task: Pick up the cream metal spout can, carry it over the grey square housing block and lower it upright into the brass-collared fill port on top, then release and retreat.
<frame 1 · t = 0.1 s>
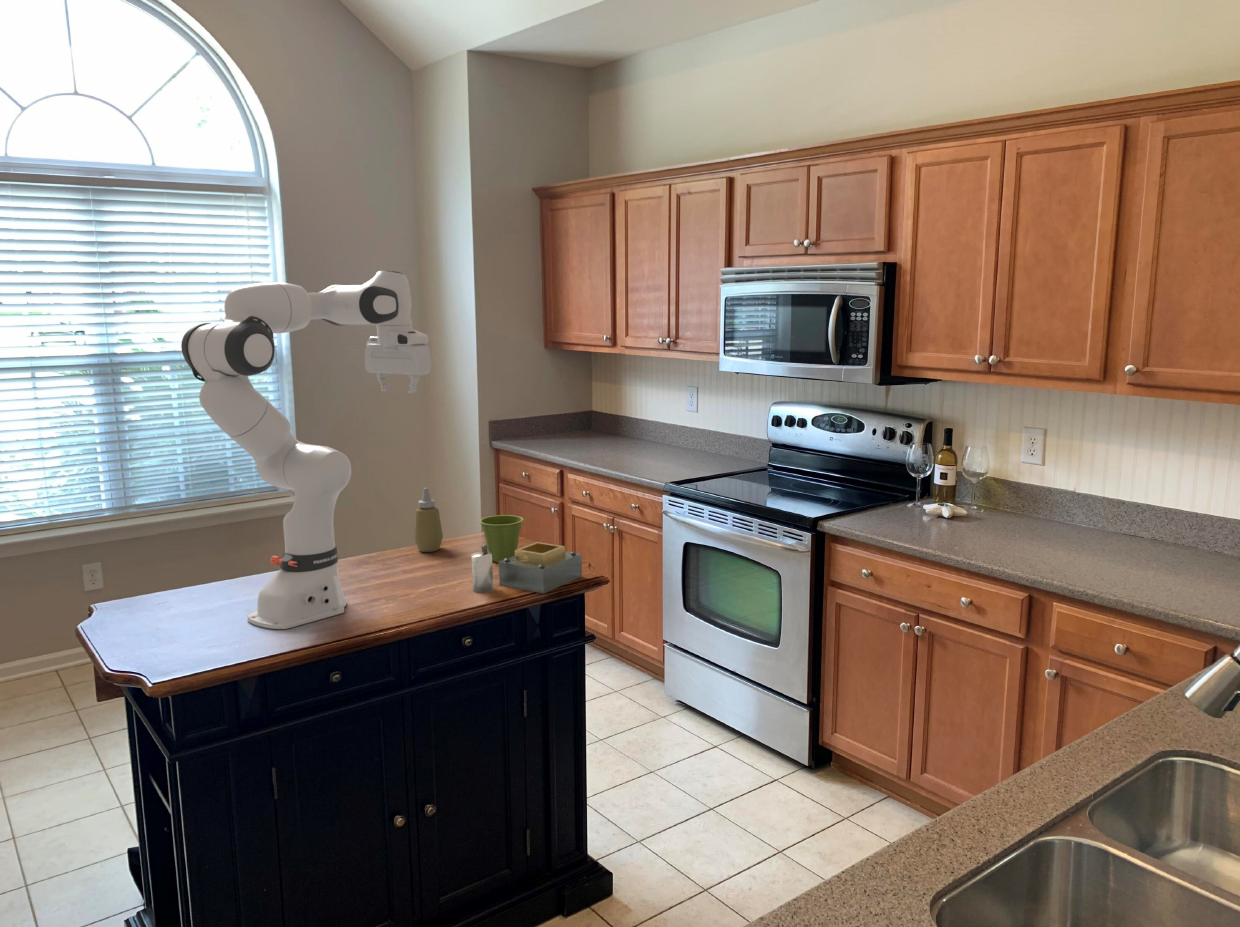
hand: (398, 391, 241), 48 cm above the countertop, fingers open, 8 cm apart
spout can: (483, 589, 235), on the countertop
grey square housing block: (541, 580, 241), on the countertop
squeeze bottle: (429, 550, 272), on the countertop
plant pot: (503, 560, 261), on the countertop
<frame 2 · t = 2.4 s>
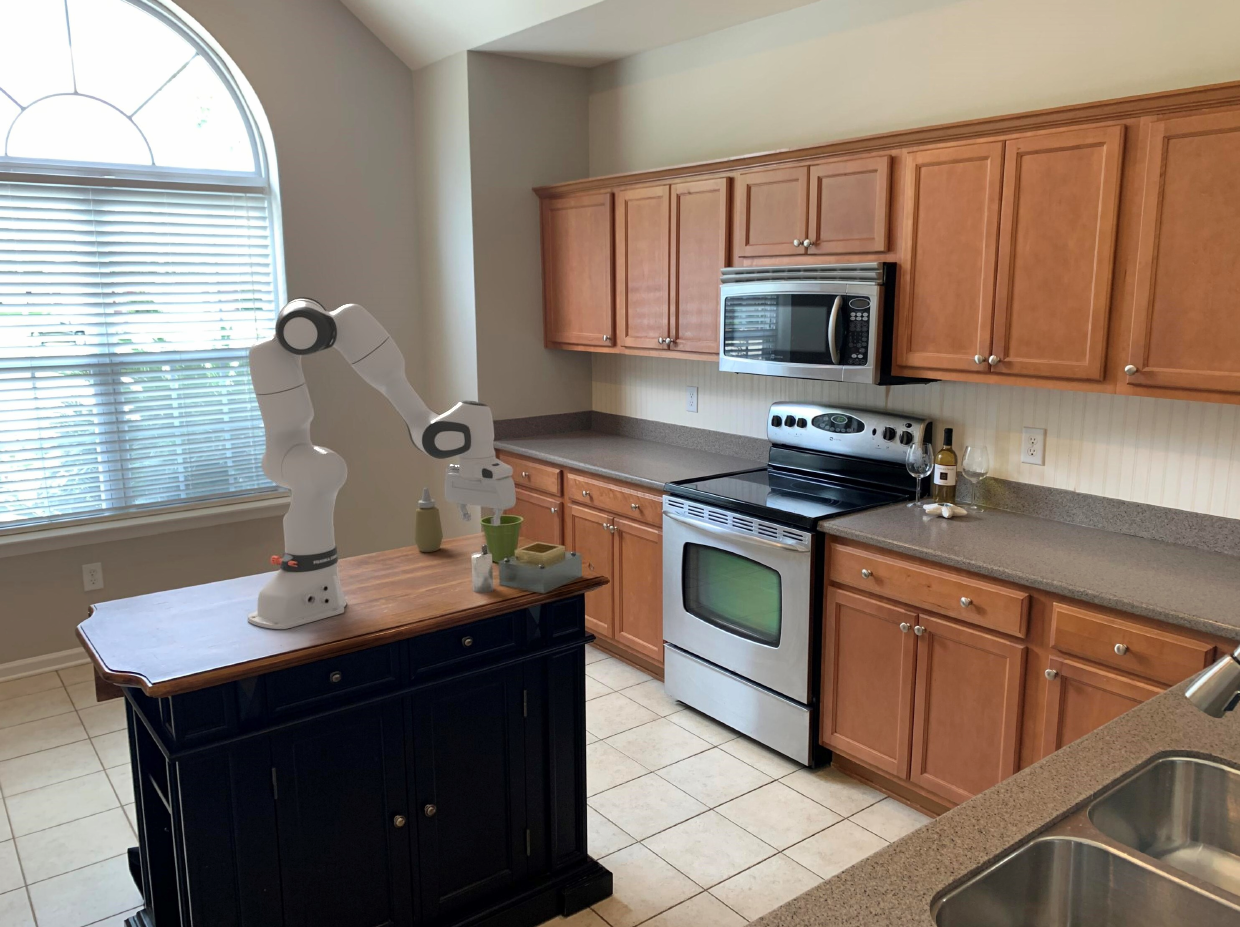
hand: (480, 522, 232), 17 cm above the countertop, fingers open, 8 cm apart
nothing on the countertop moved.
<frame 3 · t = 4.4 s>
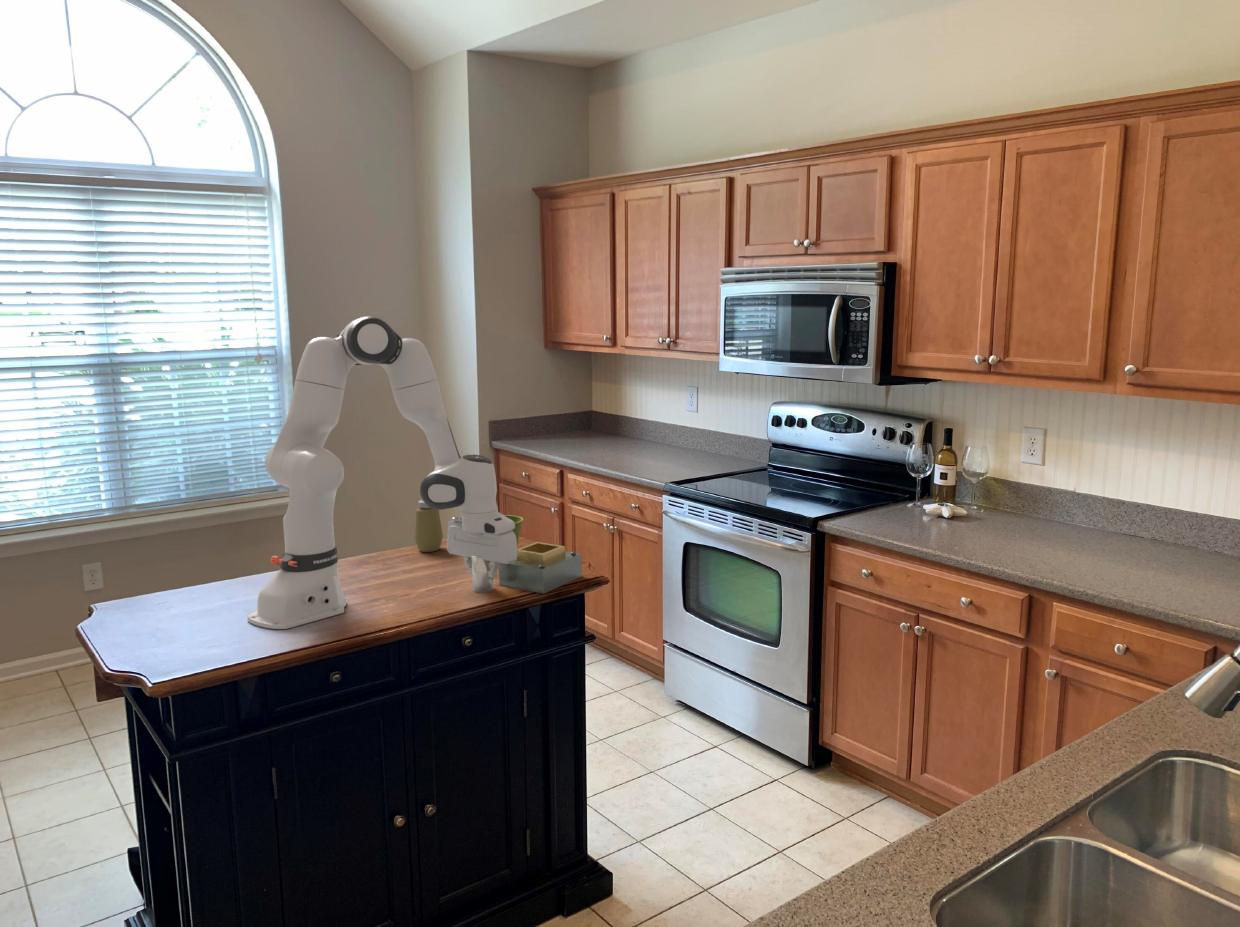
hand: (482, 575, 234), 4 cm above the countertop, fingers closed on spout can, 5 cm apart
spout can: (483, 589, 235), on the countertop, touching gripper
everything else where it was.
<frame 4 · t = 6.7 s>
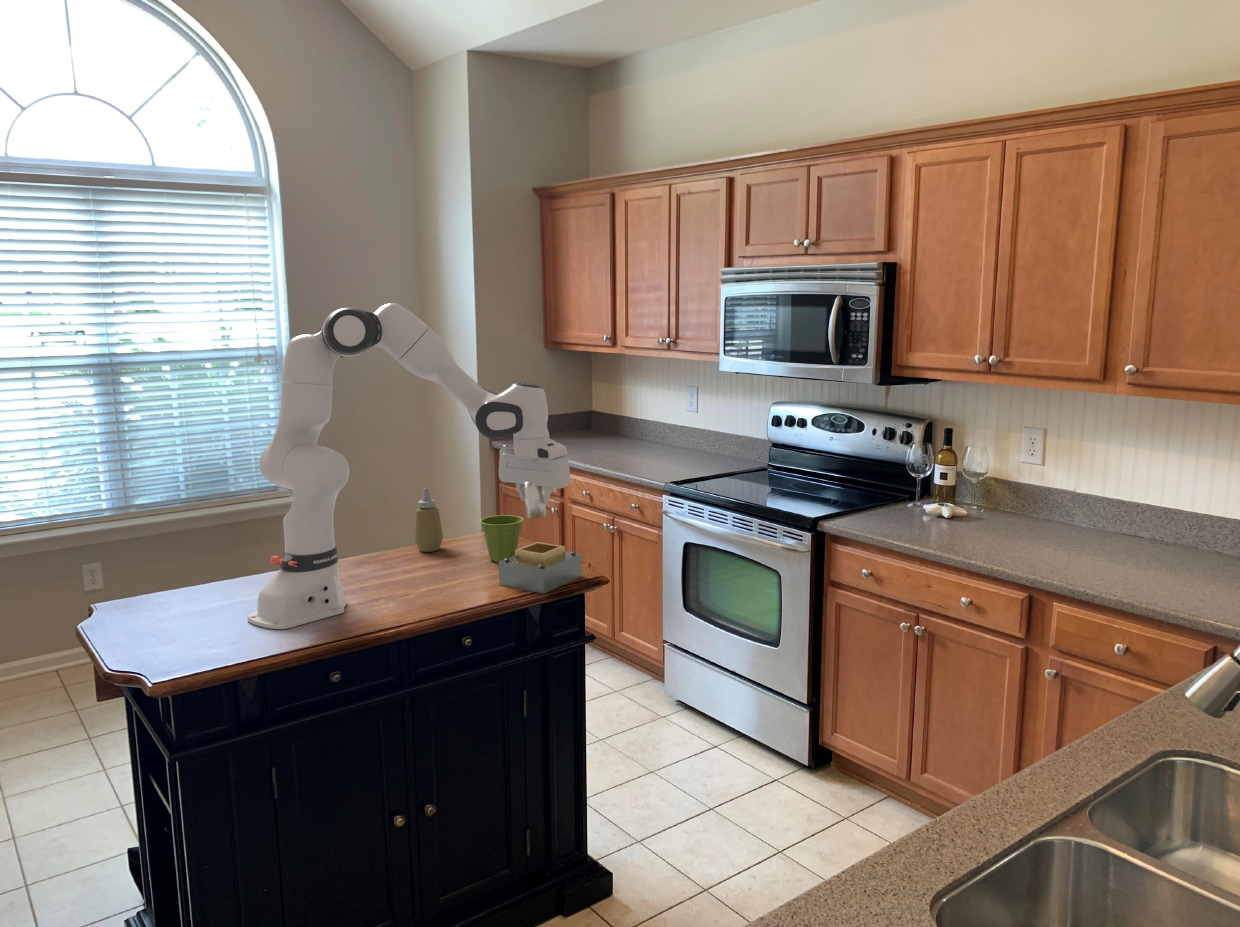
hand: (535, 501, 237), 21 cm above the countertop, fingers closed on spout can, 5 cm apart
spout can: (536, 515, 238), point 17 cm above the countertop, touching gripper
everything else where it was.
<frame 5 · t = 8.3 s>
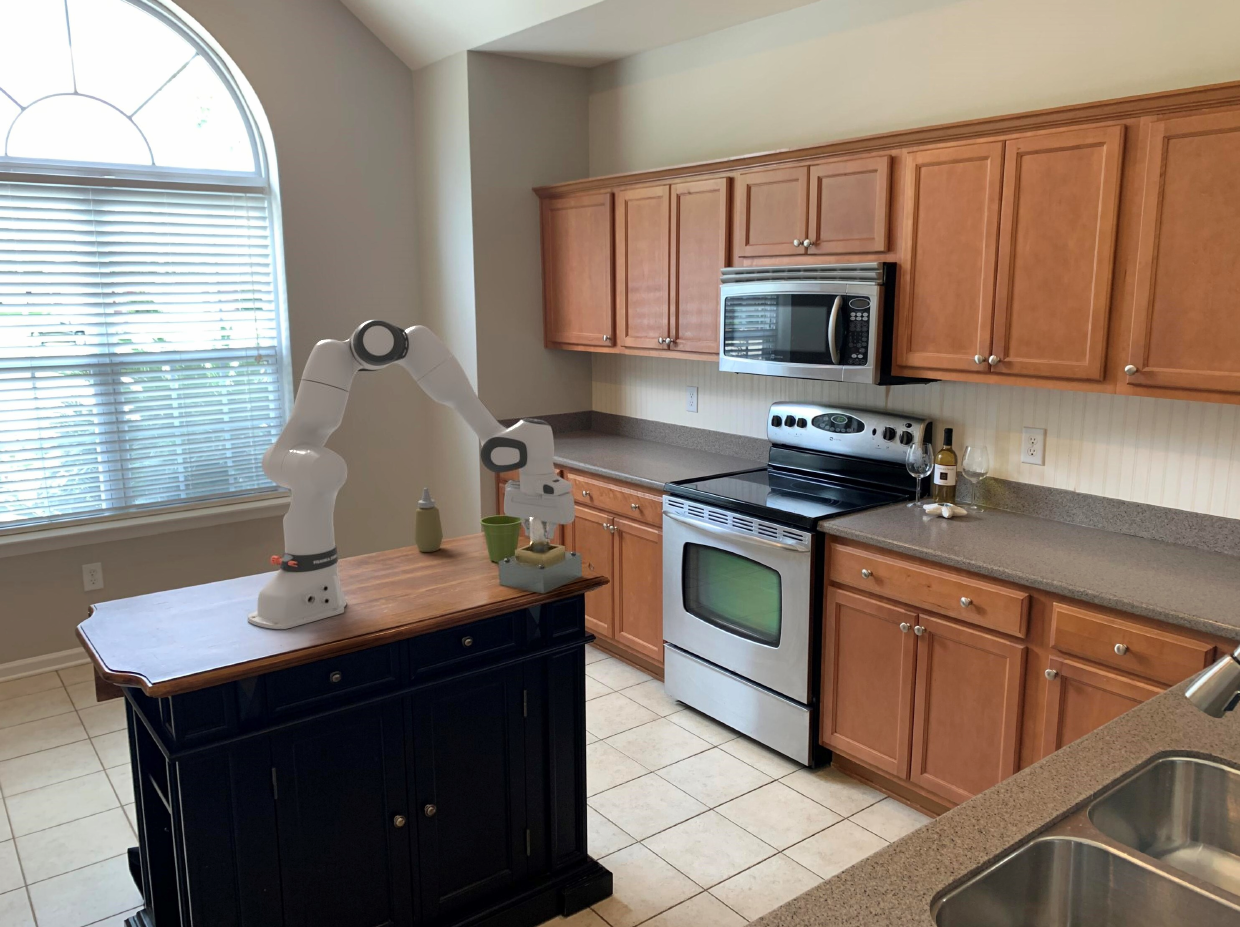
hand: (539, 536, 239), 11 cm above the countertop, fingers closed on spout can, 5 cm apart
spout can: (540, 550, 240), point 8 cm above the countertop, touching gripper
everything else where it was.
when the fingers open (11 cm above the countertop, at t = 9.2 s): spout can drops 1 cm, resting on grey square housing block.
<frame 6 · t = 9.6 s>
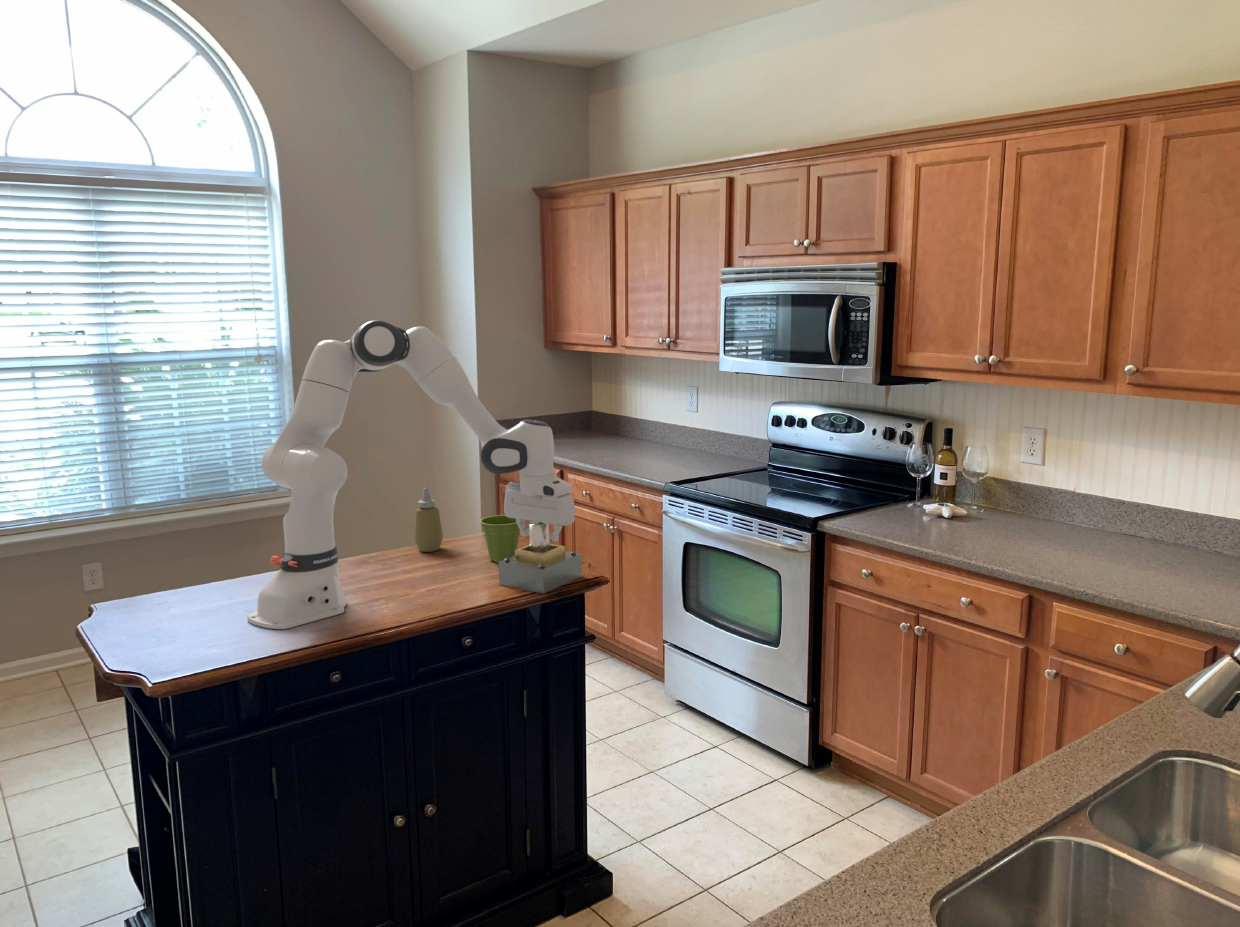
hand: (539, 538, 239), 11 cm above the countertop, fingers open, 8 cm apart
spout can: (539, 557, 240), point 6 cm above the countertop, touching grey square housing block
everything else where it was.
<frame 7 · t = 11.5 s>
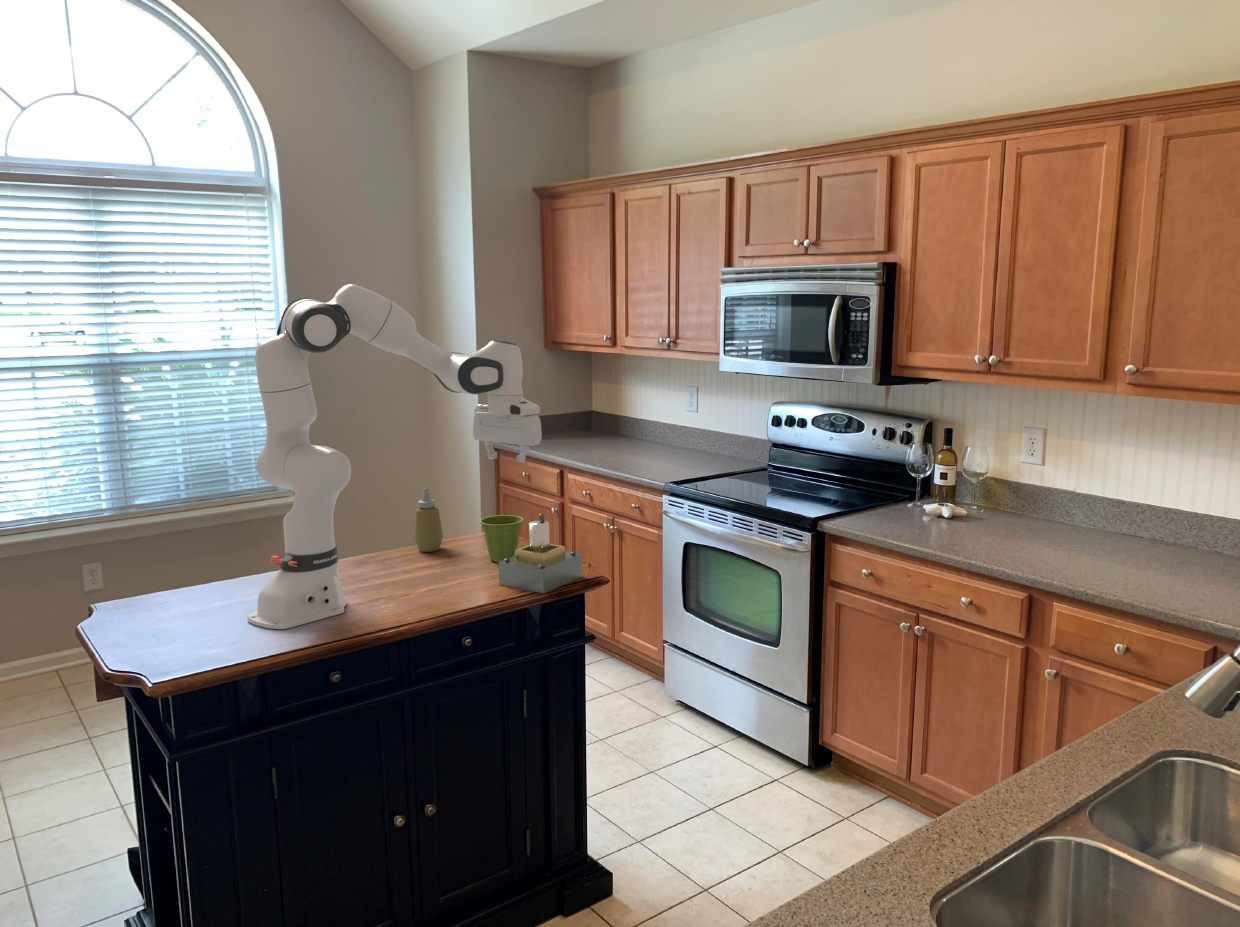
hand: (506, 460, 240), 30 cm above the countertop, fingers open, 8 cm apart
nothing on the countertop moved.
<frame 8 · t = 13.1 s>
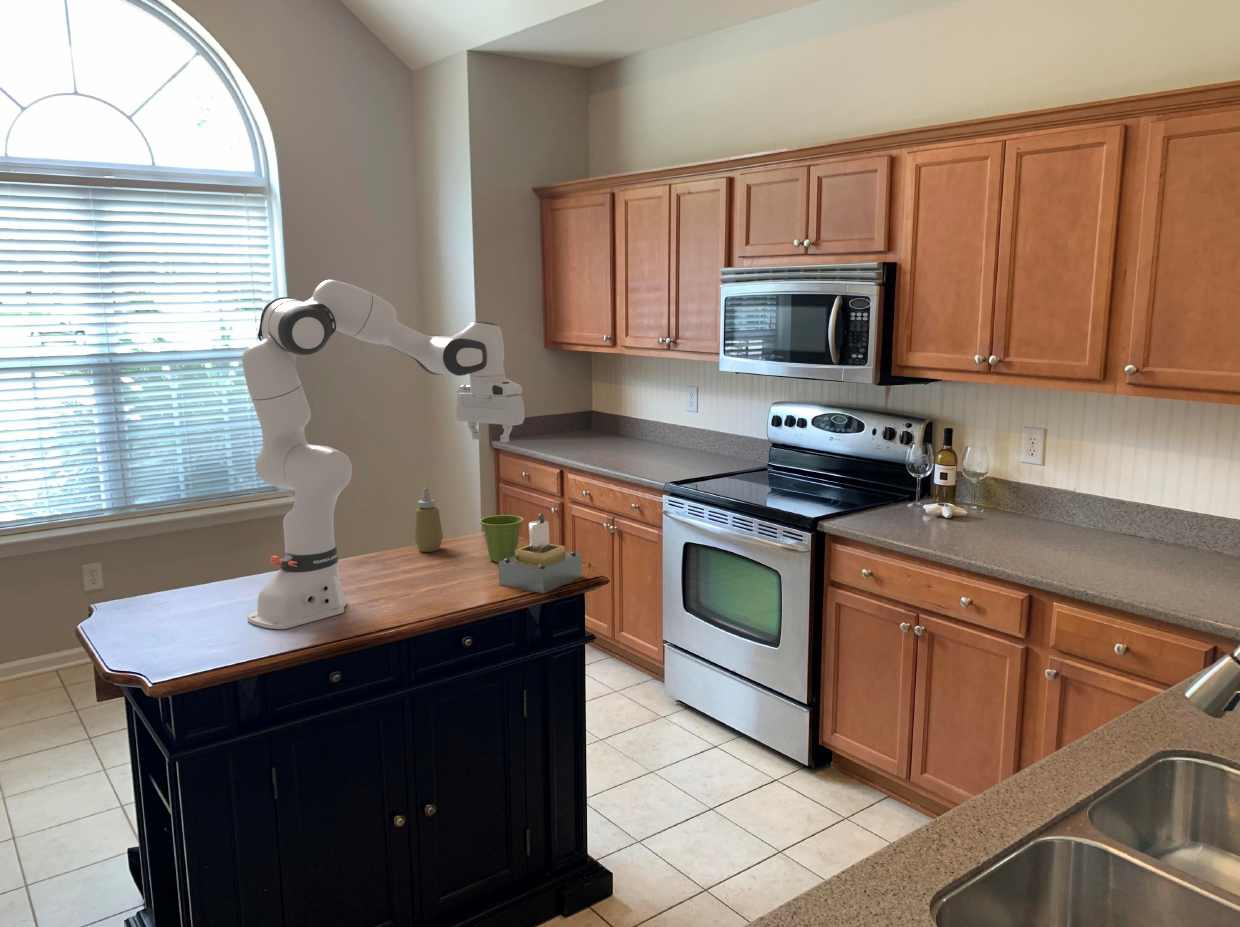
hand: (490, 440, 242), 35 cm above the countertop, fingers open, 8 cm apart
nothing on the countertop moved.
at the end: spout can 0.2 cm off-centre on the grey square housing block, point 6.0 cm above the grey square housing block's base; spout can tilted 1°; the gripper is holding nothing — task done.
